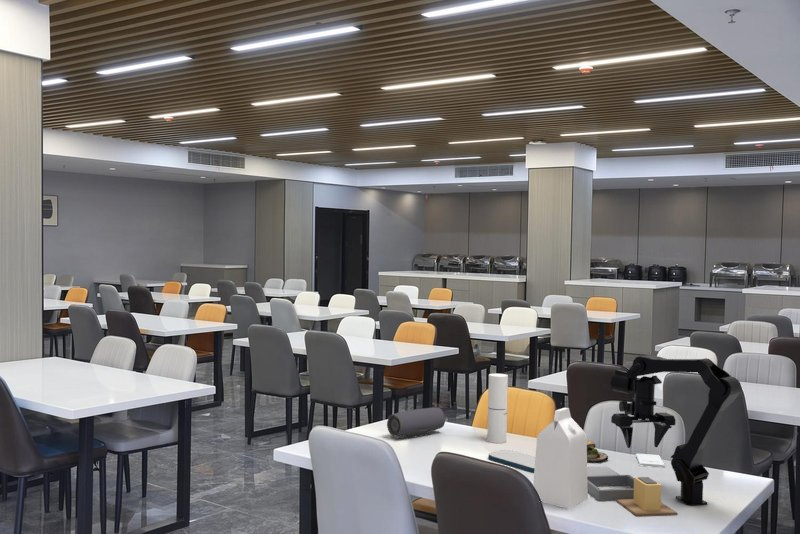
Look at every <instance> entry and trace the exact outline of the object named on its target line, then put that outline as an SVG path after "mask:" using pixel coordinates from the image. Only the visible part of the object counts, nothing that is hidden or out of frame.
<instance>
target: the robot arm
mask: <svg viewBox="0 0 800 534" xmlns="http://www.w3.org/2000/svg"><path fill="white" fill-rule="evenodd" d="M662 372H663V373H696V374H699V376H700V377H701V379H702V381H703V382H704V384H705V385H706V386H707V387H708V388H709V391H708V394H707V395H708V396H707V405H706V406H705V408H704V410H703V412H702V414H701V416H700V417H699V420H698V422H697V424H696V425H695V427H694V429H693V432H692V433H691V435H690V437H689V439H688V440H687V442H686V443H682V444H680V445H677V446H676V447H675V450H674V453H673V454H672V455H671V456H670V458H671V462H670V465H671V468H672V470H673V471H674V475H675V477H676V481H678V482H680V495H676V496H675V499H677V500H678V501H680V502H681V503H683V504H685V506H699V505H708V502H707V501H705V500H704V496H703V495H704V483H703V482H704V481H705V480H707V479H708V477H709V475H710V472H709V471H708V470H707V469H706V468H705V466H704V465H703V464H702V462H703V460H704V448H705V447H706V445H707V443H708V441H709V439H710V437H711V436H712V434H713V432H714V430H715V428H716V426H717V424H718V423H719V421H720V419H721V417H722V415H723V413H724V412H725V410H726V409H727V408H728V407H729V406H730V405H731V404H732V403H734V401H735V400H736V398H738V396H740V394H741V392H742V390H743V388H742V385H741V382H740V381H739V379H738V378H736V377H734V376H731V374H729V373H728V372H727V371H726V370H724V369H723V368H721V367H720V366H718V365H717V364H715V362H714V361H712V360H711V359H709V358H706V357H705V358H701V359H699V358H664V357H661V356H657V355H653V354H647V355H641V356H635V358H634V360H633V361H632V365H631V366H630V367H629V369H628V370H627V371H625V370H623V369H615V371H614V374H613V376H612V377H611V380H610V387H611V390H612V391H614V392H618V393H624V394H629V395H632V394H633V393H634V397H632V398H631V403H630V402H629V403H628V401H627V400H619V403H618V409H619V410H618V411H620V412H619V413H613V414H612V416H611V418H610V420H611V421H610V422H611V423H612V424H614V425H615V426H617V427H618V428H620V430H621V432H622V434H623V438H624V441H625V445H626V447H627V448H628V449H631V445H632V440H633V432H634V430H633V429H634V427H633V426H632V425H633V424H634V423H635V424H640V423H642V424H643V423H653V427H654V438H653V442H654V443H653V444H654V448H658V447H659V445H660V444H661V442H662V440H663V438H664V436H665V435H666V434H667V432H668V430H669V429H672V426H676V423H677V422H676V417H675V416H674V415H673V414H670V413H667V412H655V406H657V401H655V389H656V388H655V387H656V385H660V384H661V385H662V383H663V382H662V380H661V379H660V378H659V377H658V375H654V374H658V373H662ZM652 374H653V375H652ZM648 375H652V376H648ZM641 376H642V377H641Z"/></svg>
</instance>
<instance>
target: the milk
mask: <svg viewBox="0 0 800 534" xmlns="http://www.w3.org/2000/svg"><path fill="white" fill-rule="evenodd" d="M553 415H554V418H553V421H551V422H550V423H549V424H548V425H547V426H545V427H544V428H543V429H542V430H541V431H540V432H539V433H538V435H537V437H536V443H535V444H536V448H535V456H534V457H535V469H534V473H533V484H532V485H534V487H535V488H536V490H537V492H538V493H539V495H540V497H541V500H542V502H541V503H545V504H547V505H552V506H556V507H560V508H564V509H568V510H570V509H572V508H573V507H575V506H577V505H578V504H581V503H582V502H584V501H586V500H587V499H588V498H589V497H588V495H589V493H588V488H587V467H588V460H587V442H588V441H587V440H588V437H587V435H586V432H585V431H584V430H583V429H582V427H580V425H579V424H578V423H577V422H576V421H575V420H574V419H573V418H572V415H571V411H570V408H569V407H562V408H558V409H556V410H555V411H554V414H553Z"/></svg>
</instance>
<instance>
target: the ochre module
mask: <svg viewBox="0 0 800 534" xmlns="http://www.w3.org/2000/svg"><path fill="white" fill-rule="evenodd" d="M633 478H634V501H633V502H634V503H635V504H637V505H638V506H639V507H641V508H642V509H644V510H645V511H650V510H660V509H661V502H662V484H660V483H658V482H657V481H656V480H654V479H653V478H651V477H648V476H639V477H633Z"/></svg>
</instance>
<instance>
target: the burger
mask: <svg viewBox="0 0 800 534" xmlns="http://www.w3.org/2000/svg"><path fill="white" fill-rule="evenodd" d="M596 447H597V445H596V443H595V442H593V441H589V440H588V441H587V462H589V461H591V462H600V461H603V460H605V459H606V458H607V459H608V460H609V455H608V454H606V453H604V452H601V451H599V450H598V449H596ZM607 459H606V460H607Z"/></svg>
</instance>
